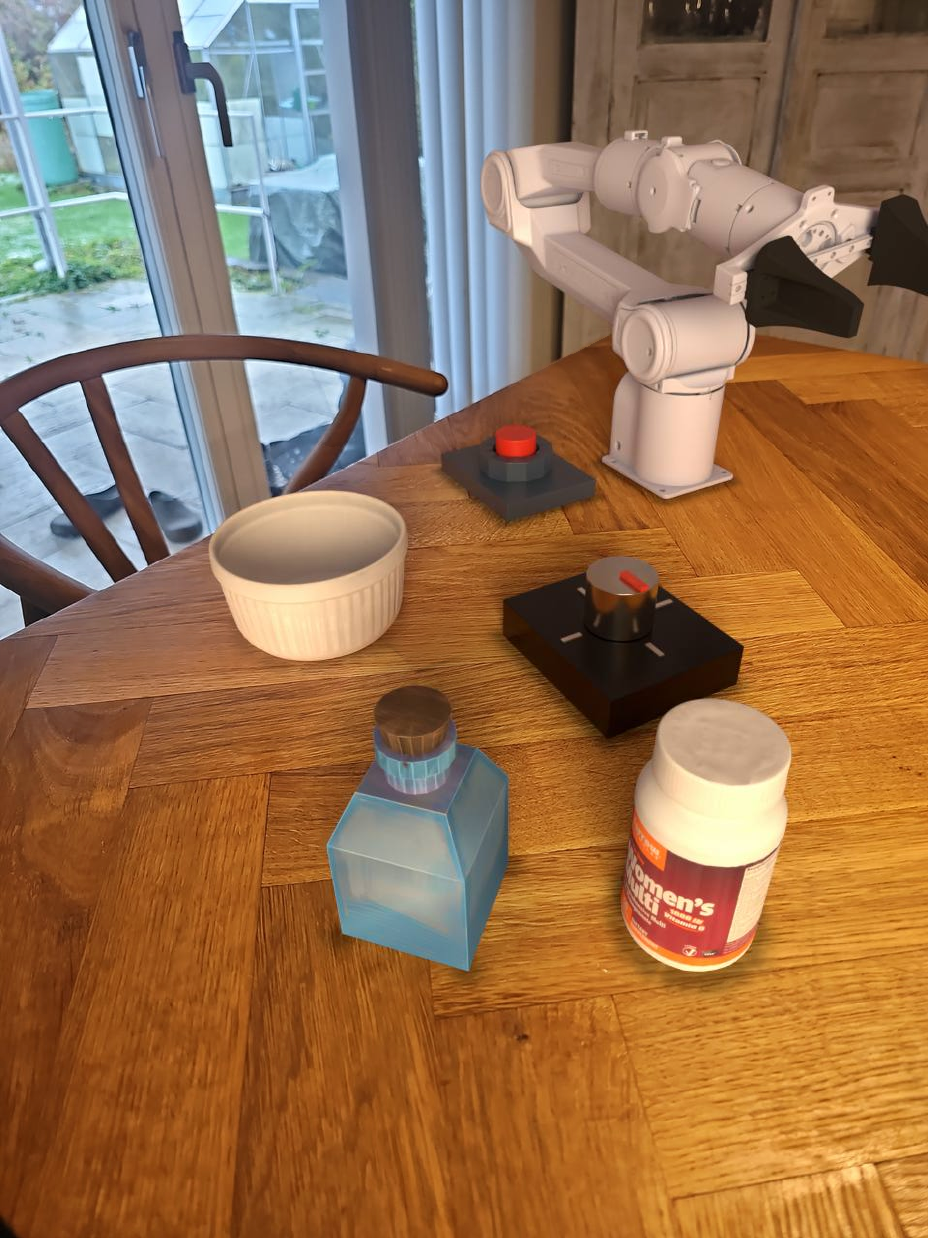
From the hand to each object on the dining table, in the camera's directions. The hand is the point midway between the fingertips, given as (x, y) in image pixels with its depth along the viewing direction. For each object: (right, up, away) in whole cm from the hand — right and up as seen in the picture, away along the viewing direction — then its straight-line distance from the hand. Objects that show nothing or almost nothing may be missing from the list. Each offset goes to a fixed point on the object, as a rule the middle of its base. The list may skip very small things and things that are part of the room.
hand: (907, 302), depth 51 cm
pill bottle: (-16, -33, -11) cm, 39 cm away
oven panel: (-17, -22, +5) cm, 28 cm away
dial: (-17, -19, +3) cm, 26 cm away
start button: (-22, -4, +24) cm, 33 cm away
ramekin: (-37, -19, +10) cm, 43 cm away
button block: (-22, -7, +26) cm, 35 cm away
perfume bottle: (-28, -33, -10) cm, 45 cm away
